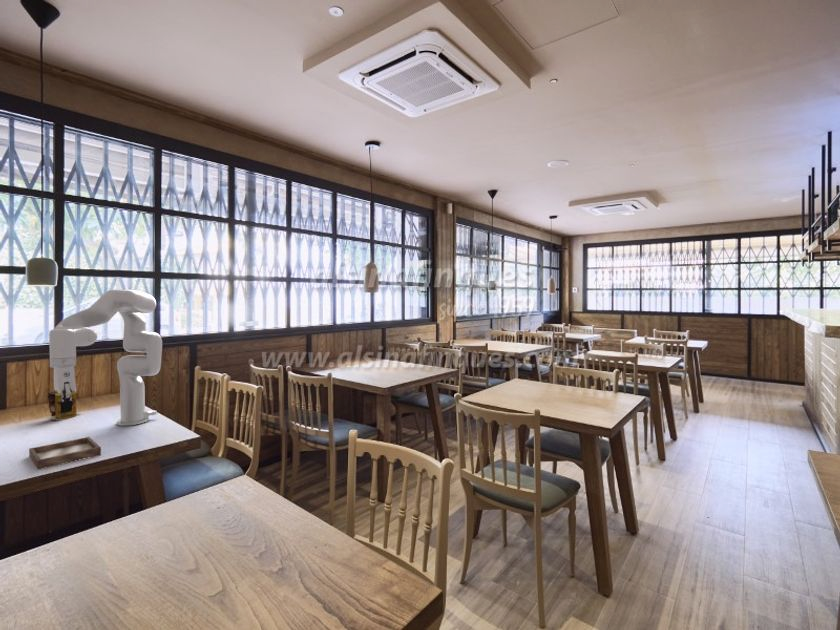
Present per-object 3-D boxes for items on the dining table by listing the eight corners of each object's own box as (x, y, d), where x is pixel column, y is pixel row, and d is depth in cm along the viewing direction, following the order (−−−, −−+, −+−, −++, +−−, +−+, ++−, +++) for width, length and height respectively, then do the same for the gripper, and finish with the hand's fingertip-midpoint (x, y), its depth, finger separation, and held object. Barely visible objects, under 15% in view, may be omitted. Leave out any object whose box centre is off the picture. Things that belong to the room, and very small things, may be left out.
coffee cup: (43, 420, 202) (42, 393, 202) (62, 415, 210) (62, 389, 209) (55, 422, 199) (54, 394, 199) (74, 417, 207) (74, 391, 206)
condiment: (66, 420, 156) (65, 387, 156) (44, 419, 157) (43, 386, 156) (83, 414, 164) (82, 383, 163) (62, 413, 164) (61, 382, 164)
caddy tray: (89, 444, 173) (89, 436, 173) (101, 455, 162) (100, 447, 162) (29, 456, 159) (29, 448, 159) (37, 469, 148) (37, 460, 148)
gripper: (81, 363, 156) (82, 412, 157) (70, 358, 167) (71, 404, 168) (55, 366, 150) (56, 417, 151) (45, 360, 161) (46, 407, 162)
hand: (64, 409), depth 160 cm, fingers closed on condiment, 6 cm apart
